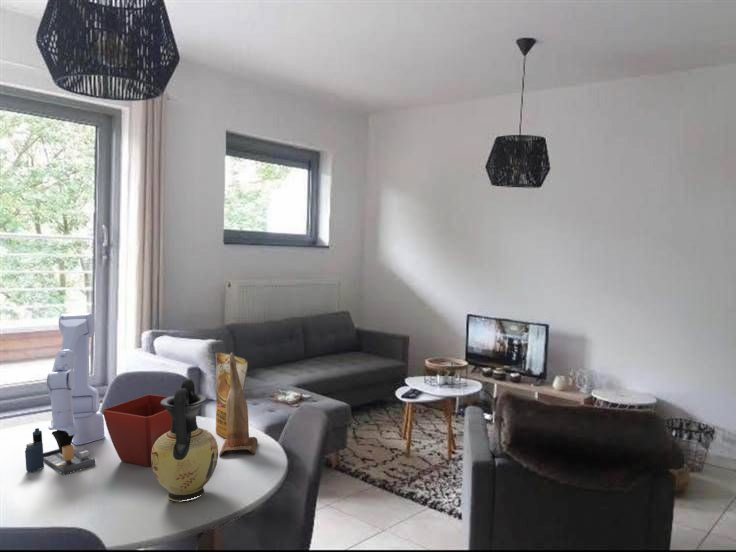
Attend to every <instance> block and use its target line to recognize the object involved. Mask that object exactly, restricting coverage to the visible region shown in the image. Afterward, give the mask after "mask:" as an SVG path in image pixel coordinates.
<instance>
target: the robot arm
mask: <svg viewBox="0 0 736 552" xmlns="http://www.w3.org/2000/svg"><path fill="white" fill-rule="evenodd" d="M95 327H96V326H95V316H94V314H93V313H92V312H84V313H83V312H82V313H62V314H60V315H59V318H58V328H59V331H60V333H61V335H62V342H61V350H60V351H58V352H57V353H56V355H55V359H54V363H53V367H52V371H51V372H50V373H48V374H47V377H46V387H47V391H48V397H49V398H50V404H51V407H50V408H51V418H52V419H51V420H50V422H51V423H50V426H48V428H47V429H48V430H49V431H52V432H51V435H52V436H53V437H54V440H55V441H56V443H57V446H58V449H59V450H60V453H61V454H62V447H63V446H67V445H70V444H71V445H72V444H74V445H76V446H82V445H85V444H89V443H93V442H96V441H98V440H103V439H105V438H106V437H107V436H106V435H105V418H104V414H103V413H102V412H101V411H99V410H100V405H101V401H100V394H99V390H98V389H97V388H95V387H94V386H92V385H91V384H90V349H89V348H90V338H91V337H93V336H95V331H96V330H95V329H96V328H95Z"/></svg>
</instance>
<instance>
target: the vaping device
mask: <svg viewBox="0 0 736 552" xmlns="http://www.w3.org/2000/svg"><path fill="white" fill-rule="evenodd" d="M43 453H44V443H43V432H42V430H40V428H34V431H33V432H32V442H29V443H27V444H26V446H25V450H24V456H25V469H26V471H27V473H34V472H36V471H39V470H41V469H42V468H44V467H45V462H44V458H43ZM40 468H41V469H40ZM38 469H39V470H38Z"/></svg>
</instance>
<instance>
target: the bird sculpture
mask: <svg viewBox="0 0 736 552" xmlns="http://www.w3.org/2000/svg"><path fill="white" fill-rule="evenodd" d="M229 354H230V391H229V394H228V397H227V401H226V424H227V439H224V442H223V444H222V446H221V449H220V451H219V453H218V458H219V457H221V456H222V455H223V453H225V452H226V451H232V450H233V451H237V450H248V451H249V452H250V453H251V454H253V455H255V454H256V450H257V446H258V443H259V442H258V438H257V437H255V436H250V433H249V431H250V430H249V408H248V403H247V399H246V396H245V393H244V392H243V390H242V387H241V383H240V379H239V375H238V372H237V368H236V362H235V357H234V356H235V354H234V352H230V353H229Z"/></svg>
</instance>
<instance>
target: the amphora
mask: <svg viewBox="0 0 736 552" xmlns="http://www.w3.org/2000/svg"><path fill="white" fill-rule="evenodd" d="M195 391H196V389H195V383H194V381H193V379H189V378H187V379H184V380H183V381H182V383H181V386H180V388H177V389H176V391H175V392H174V395H171V396H166V397H167V398H165V399H163V400H162V401H161V403H160V404H161V405H162V406H163V407H166V408H167V411H168V413H169V414H170V415H171V417H172V427H171V430H170V431H169V432H167V433H165V434H163V435H162V436H160V437H159V438H158V439H157V440H156V442H155V444H154V445H153V448H152V452H151V464H152V466H151V469H152V472H153V474H154V477H155V478H156V480H157V481H158V483H159V484H160V486H161V487H163V488H164V489H165V490H167V491H168V493H167V499H168V500H169V499H170V500H172V501H182V500H187V499H191V498H194V497H197V496H200V495H202V494H203V493H204V494H205V488H204V487H205V485H206V484H208V482H210V480H211V478H212V476H213V475H214V472H215V470H216V467H217V465H218V460H219V459H218V458H219V446H218V442H217V440H216V438H215V436H214V435H213V434H212V432H210V431H208V430H207V429H204V428H201V427H199V426H198V422H197V414H198V412H199V411H200V409H201V407H202V404H204V403H205V402H206V401H207V397H206V396H205V395H203V394H199V393H195ZM204 494H203V495H204ZM203 495H202V496H203ZM170 500H169V501H170ZM172 501H171V502H172Z"/></svg>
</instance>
